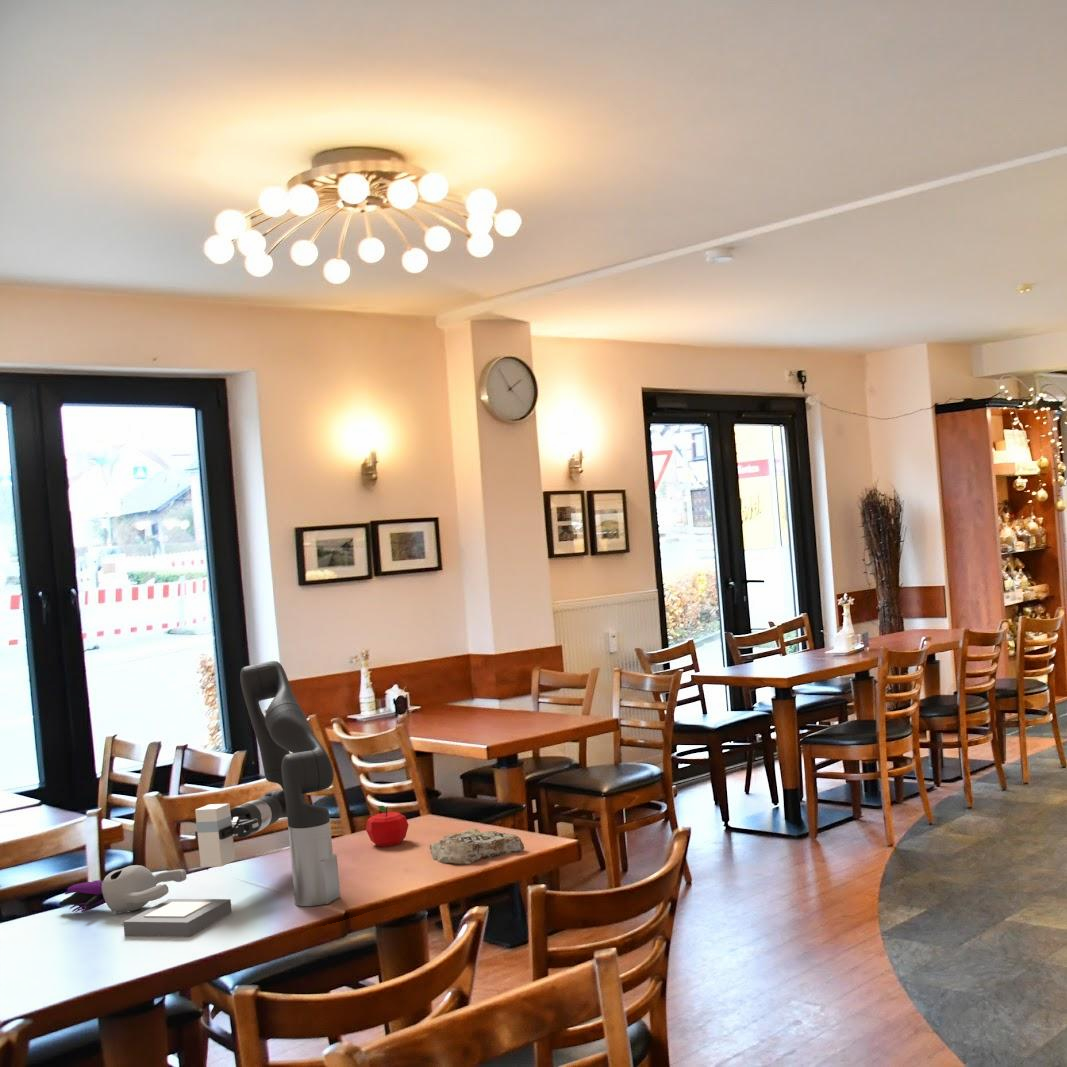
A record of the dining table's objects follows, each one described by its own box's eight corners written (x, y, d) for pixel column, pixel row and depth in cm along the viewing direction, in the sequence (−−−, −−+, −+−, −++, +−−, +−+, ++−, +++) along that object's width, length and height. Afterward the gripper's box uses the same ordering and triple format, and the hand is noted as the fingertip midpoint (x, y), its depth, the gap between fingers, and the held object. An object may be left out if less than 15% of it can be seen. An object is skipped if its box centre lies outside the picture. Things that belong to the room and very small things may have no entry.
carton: (235, 860, 276) (229, 803, 276) (221, 866, 271) (215, 809, 271) (214, 860, 278) (209, 804, 278) (200, 867, 273) (194, 809, 273)
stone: (460, 847, 284) (405, 831, 304) (461, 872, 284) (407, 854, 304) (524, 831, 296) (467, 817, 316) (526, 854, 296) (469, 839, 316)
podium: (231, 912, 264) (230, 897, 264) (188, 936, 249) (187, 921, 249) (170, 912, 269) (169, 897, 269) (124, 935, 254) (123, 920, 254)
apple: (417, 840, 317) (413, 803, 317) (385, 850, 309) (382, 811, 310) (391, 837, 324) (388, 800, 325) (360, 846, 317) (356, 808, 317)
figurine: (74, 872, 285) (185, 845, 279) (86, 911, 286) (197, 886, 280) (34, 897, 270) (151, 869, 264) (47, 938, 270) (164, 912, 264)
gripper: (222, 803, 290) (180, 819, 274) (273, 801, 286) (234, 817, 270) (224, 834, 290) (183, 852, 274) (276, 833, 286) (237, 851, 270)
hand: (208, 835), depth 272 cm, fingers closed on carton, 5 cm apart
